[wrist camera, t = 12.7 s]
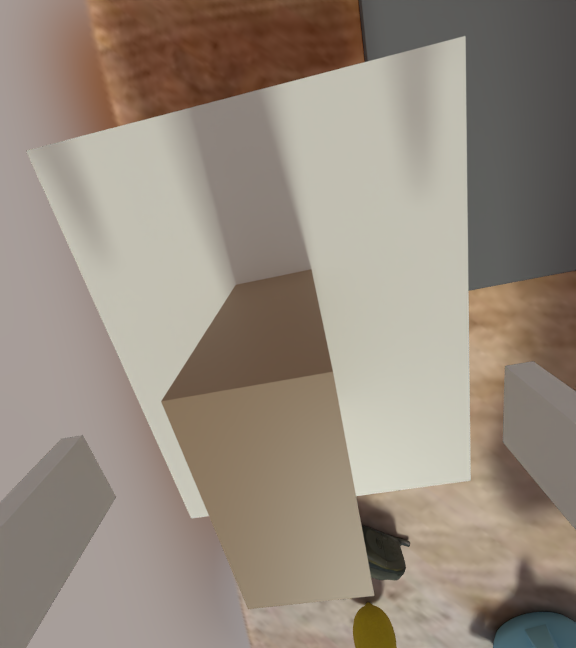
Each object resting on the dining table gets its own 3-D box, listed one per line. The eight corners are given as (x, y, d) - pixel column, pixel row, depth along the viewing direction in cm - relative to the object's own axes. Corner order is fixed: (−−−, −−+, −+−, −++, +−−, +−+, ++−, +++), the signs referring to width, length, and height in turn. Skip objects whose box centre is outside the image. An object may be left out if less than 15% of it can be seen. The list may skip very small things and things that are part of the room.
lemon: (341, 602, 48) (349, 677, 41) (370, 586, 47) (384, 660, 39) (366, 618, 50) (378, 694, 42) (395, 603, 48) (413, 678, 41)
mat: (698, -149, 20) (714, -162, 19) (630, 256, 29) (639, 258, 28) (353, -47, 22) (355, -56, 21) (389, 302, 31) (392, 305, 30)
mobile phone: (295, 556, 38) (412, 592, 39) (305, 540, 37) (425, 577, 38) (296, 516, 42) (400, 550, 44) (305, 501, 41) (412, 536, 43)
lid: (450, 49, 13) (916, -379, 3) (460, 464, 20) (607, 705, 11) (47, 154, 14) (-446, 78, 5) (196, 501, 22) (120, 739, 12)
